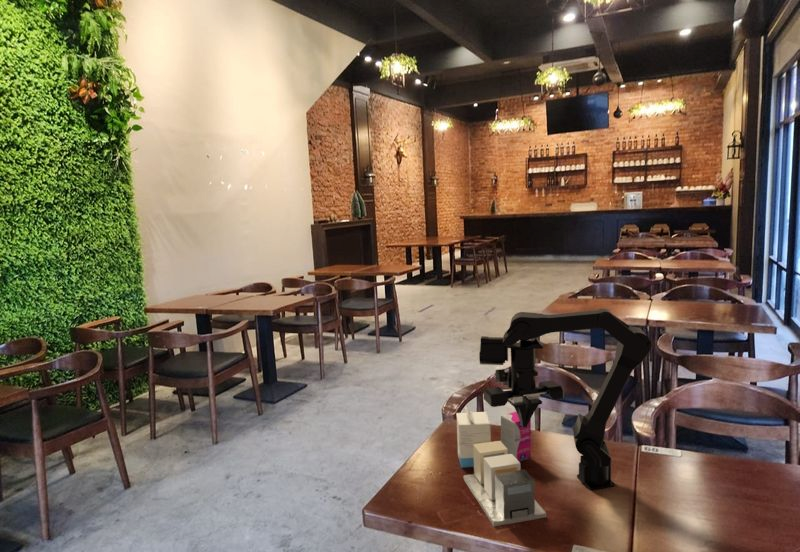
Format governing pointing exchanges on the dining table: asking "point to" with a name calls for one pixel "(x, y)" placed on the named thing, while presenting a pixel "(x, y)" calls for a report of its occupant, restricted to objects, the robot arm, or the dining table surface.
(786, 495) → the dining table surface
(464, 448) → the ink box
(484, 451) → the block
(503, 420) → the supplement box
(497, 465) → the block
